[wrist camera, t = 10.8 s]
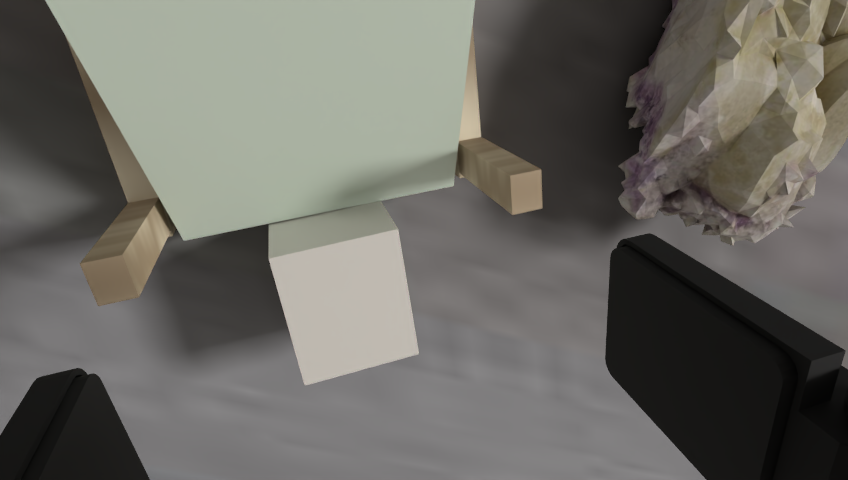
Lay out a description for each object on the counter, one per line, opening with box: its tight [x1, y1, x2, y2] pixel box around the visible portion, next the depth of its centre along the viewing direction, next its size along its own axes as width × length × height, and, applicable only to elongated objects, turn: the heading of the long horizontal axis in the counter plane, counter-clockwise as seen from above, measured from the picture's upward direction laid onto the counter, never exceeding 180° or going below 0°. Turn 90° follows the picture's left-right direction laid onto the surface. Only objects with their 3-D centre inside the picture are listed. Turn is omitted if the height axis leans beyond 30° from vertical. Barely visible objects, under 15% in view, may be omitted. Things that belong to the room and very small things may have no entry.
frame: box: [66, 23, 542, 306], centre depth 18 cm, size 13×15×9 cm
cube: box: [269, 201, 419, 385], centre depth 23 cm, size 5×5×6 cm
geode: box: [618, 0, 848, 246], centre depth 24 cm, size 17×9×15 cm
